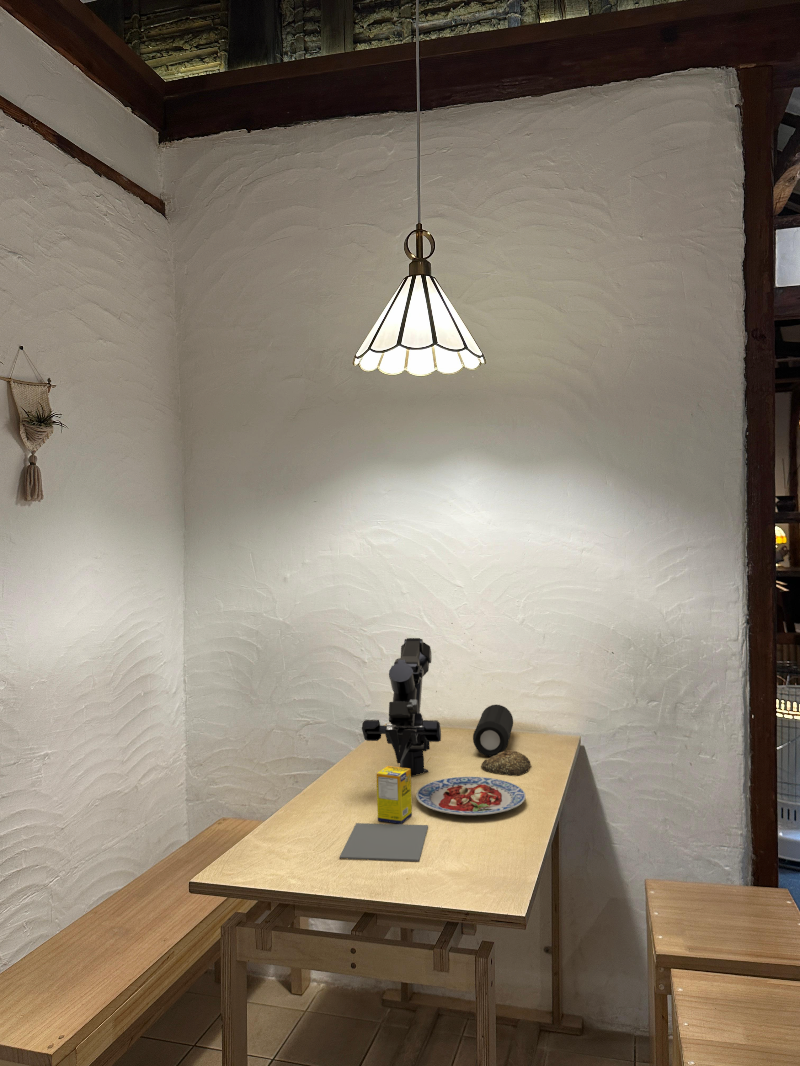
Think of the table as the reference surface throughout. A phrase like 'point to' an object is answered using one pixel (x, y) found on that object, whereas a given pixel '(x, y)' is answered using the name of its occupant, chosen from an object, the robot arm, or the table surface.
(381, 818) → the supplement box
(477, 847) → the table surface
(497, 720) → the portable speaker
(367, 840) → the rubber mat
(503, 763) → the bread roll
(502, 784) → the ceramic plate
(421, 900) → the table surface
